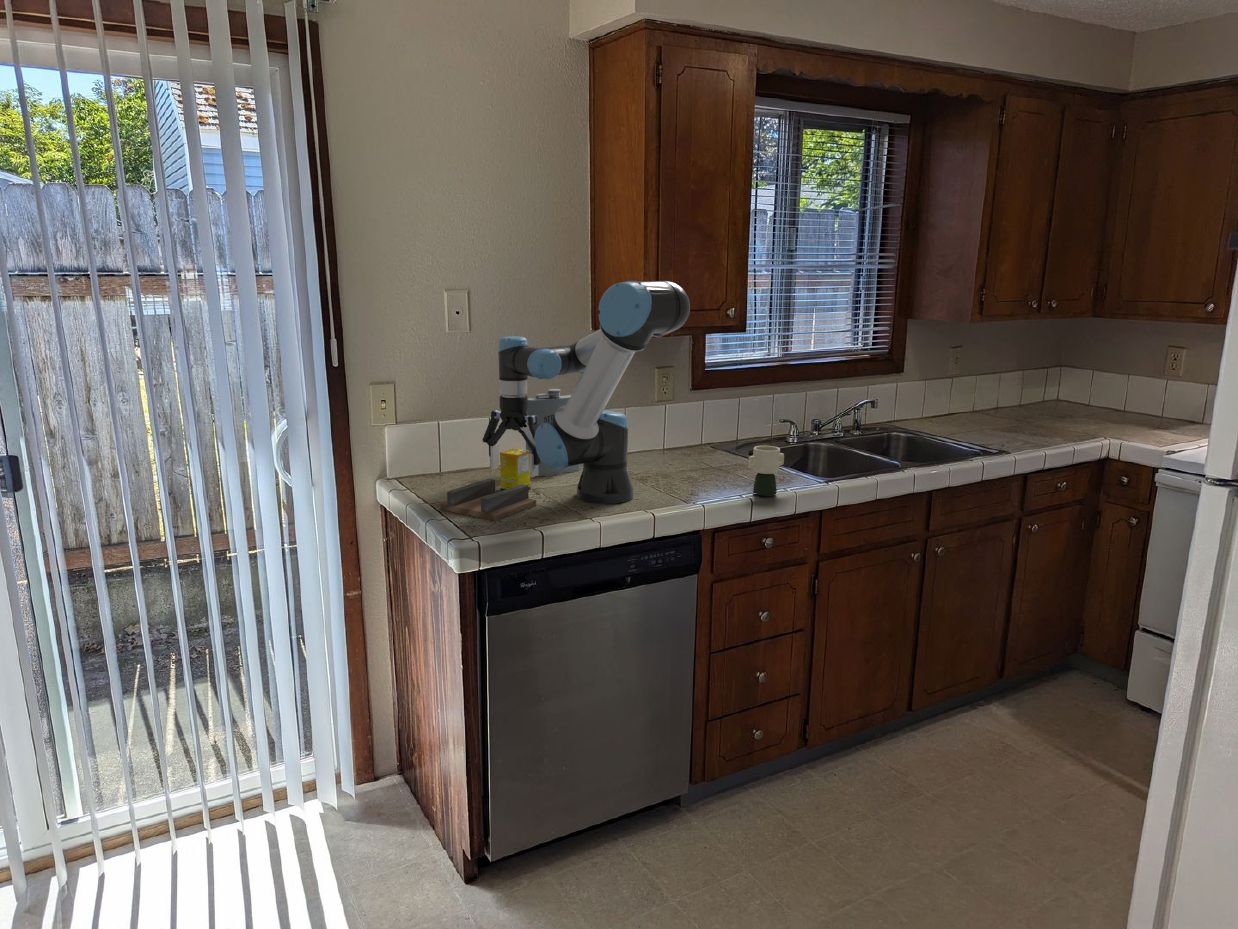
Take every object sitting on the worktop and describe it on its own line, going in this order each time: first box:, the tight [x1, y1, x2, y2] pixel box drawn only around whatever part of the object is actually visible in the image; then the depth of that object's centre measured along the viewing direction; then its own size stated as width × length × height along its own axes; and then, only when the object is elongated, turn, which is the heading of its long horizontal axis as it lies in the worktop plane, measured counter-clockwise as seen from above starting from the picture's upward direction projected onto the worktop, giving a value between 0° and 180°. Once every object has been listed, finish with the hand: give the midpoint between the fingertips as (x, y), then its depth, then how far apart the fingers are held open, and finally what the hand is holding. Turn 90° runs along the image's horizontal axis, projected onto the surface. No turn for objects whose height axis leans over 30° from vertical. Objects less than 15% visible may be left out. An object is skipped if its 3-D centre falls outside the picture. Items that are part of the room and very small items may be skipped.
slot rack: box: [439, 478, 537, 522], centre depth 218 cm, size 18×16×5 cm
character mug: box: [748, 445, 785, 497], centre depth 230 cm, size 11×7×13 cm, turn 112°
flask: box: [525, 388, 582, 477], centre depth 252 cm, size 17×5×25 cm, turn 121°
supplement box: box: [499, 447, 531, 492], centre depth 234 cm, size 6×6×11 cm
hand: (514, 472), depth 234 cm, fingers open, 13 cm apart
